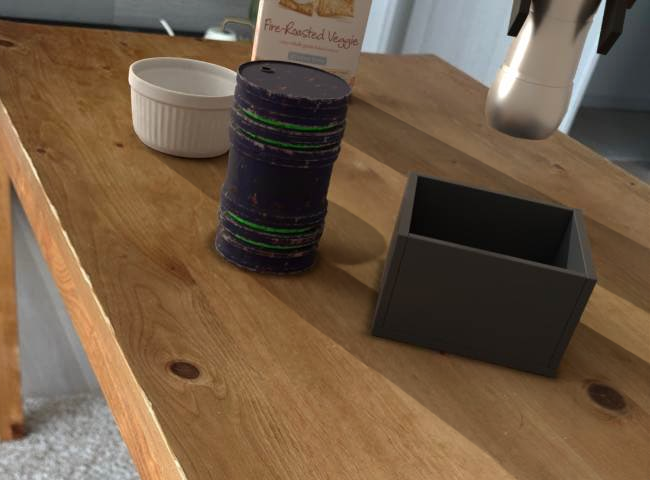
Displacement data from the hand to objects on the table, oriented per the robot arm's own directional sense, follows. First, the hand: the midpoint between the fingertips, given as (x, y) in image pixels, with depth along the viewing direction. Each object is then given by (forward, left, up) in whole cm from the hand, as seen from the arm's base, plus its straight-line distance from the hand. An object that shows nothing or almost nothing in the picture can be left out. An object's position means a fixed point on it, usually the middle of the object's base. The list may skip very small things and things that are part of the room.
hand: (563, 33), depth 64 cm
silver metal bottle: (0, -4, -9) cm, 9 cm away
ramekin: (+33, -25, -23) cm, 48 cm away
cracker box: (+24, -54, -23) cm, 64 cm away
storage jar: (+19, -2, -23) cm, 30 cm away
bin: (0, +2, -22) cm, 22 cm away
